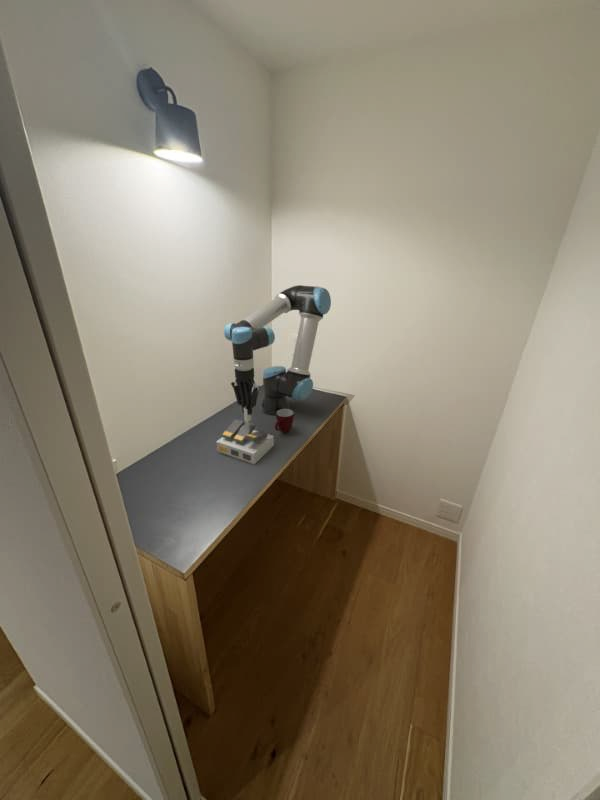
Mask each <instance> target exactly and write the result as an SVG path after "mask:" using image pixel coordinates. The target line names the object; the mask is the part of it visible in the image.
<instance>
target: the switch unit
mask: <svg viewBox="0 0 600 800" xmlns="http://www.w3.org/2000/svg"><path fill="white" fill-rule="evenodd" d="M242 427H243V426H242ZM242 427H241V428H242ZM240 430H241V429H240ZM240 430H239V431H240ZM239 431H238V432H239ZM257 431H258V430H255V429H254V430H253V431H252V433H254V432H257ZM238 432H237V433H238ZM236 435H237V434H236ZM236 435H235V436H236ZM235 436H234V437H235ZM234 437H233V439H232V440H229V439H226V438H223V436H222V437H221V438H219V439H218V440H216V441H215V443H216V449H217V452H219V453H220V454H224V455H227V456H228V457H232V458H235V459H238V460H241V461H244V462H247V463H249V464H252V465H255V464H257V462H258V461H260V460H261V458H263V457H264V456H265V454H267V453H268V452H269V451H270V450H271V449H272V448H273V447H274V443H275V440H274V435H272V434H269V433H268V435H267V437H266V438H263V439H261V440H258V441H256V442H252V441H249V440H246V441H245V442H244V443H243V444H242V443H238V442H235V441H234Z"/></svg>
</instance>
